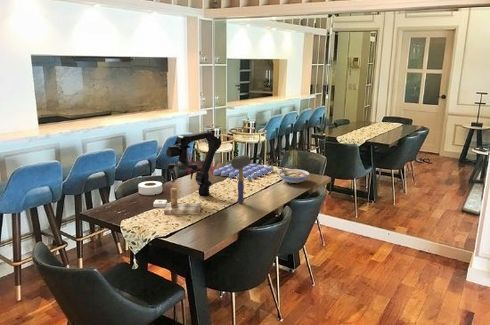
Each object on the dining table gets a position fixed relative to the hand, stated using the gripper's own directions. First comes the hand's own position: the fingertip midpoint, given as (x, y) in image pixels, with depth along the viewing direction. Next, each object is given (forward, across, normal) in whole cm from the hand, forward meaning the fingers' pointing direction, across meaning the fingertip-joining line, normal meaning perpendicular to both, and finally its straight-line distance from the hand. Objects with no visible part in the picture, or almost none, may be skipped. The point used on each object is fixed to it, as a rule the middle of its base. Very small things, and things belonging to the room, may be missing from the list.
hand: (183, 179), depth 252 cm
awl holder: (+13, -13, -12) cm, 22 cm away
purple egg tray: (+14, +38, +64) cm, 76 cm away
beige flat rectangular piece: (+13, +2, -21) cm, 25 cm away
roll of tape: (+14, -25, +16) cm, 33 cm away
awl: (+13, -3, -21) cm, 25 cm away
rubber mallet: (+13, +36, -7) cm, 39 cm away
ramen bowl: (+13, +75, +39) cm, 86 cm away
